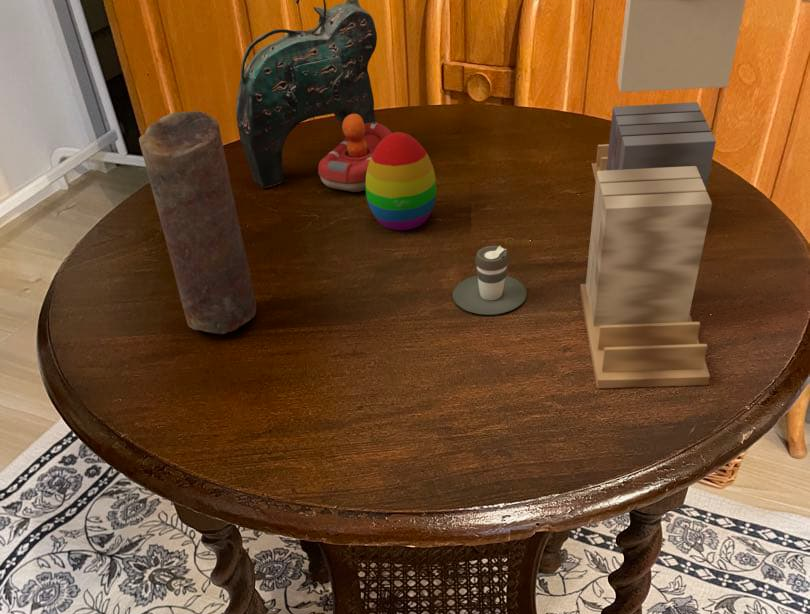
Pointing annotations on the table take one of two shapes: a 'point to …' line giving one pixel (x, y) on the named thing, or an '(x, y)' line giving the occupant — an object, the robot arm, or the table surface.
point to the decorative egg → (400, 182)
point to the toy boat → (352, 155)
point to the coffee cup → (490, 285)
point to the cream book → (678, 44)
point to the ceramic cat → (304, 83)
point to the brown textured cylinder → (199, 220)
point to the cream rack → (645, 277)
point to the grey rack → (657, 139)
